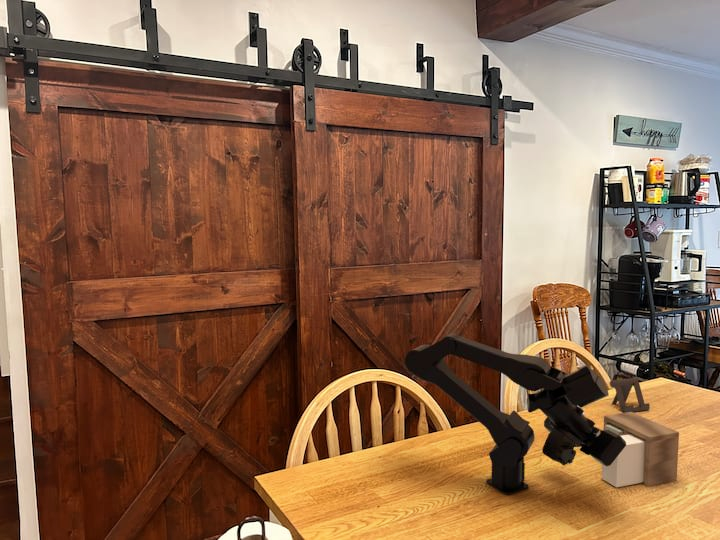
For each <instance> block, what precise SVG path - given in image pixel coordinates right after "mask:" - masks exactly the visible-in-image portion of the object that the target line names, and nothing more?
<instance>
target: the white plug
mask: <svg viewBox="0 0 720 540" xmlns="http://www.w3.org/2000/svg"><path fill="white" fill-rule="evenodd" d="M621 437H622V438H623V439H624V440H625V442H626V446H625V447H624V449H623V450H622V451H621V452H620V454H619V455H618V456H617V458H616V459H615V460H614V461H613V463H612V464H611V465H610V466H605V465H603V464H601V479H602V480H603V481H605V482H607V483H609V484H610V485H611V486H613V487H615V488H620V487H621V488H622V487H625V486H630V485H636V484H641V483H644V472H645V449H646V440H645V439H643V438H641V437H639V436H637V435H634V434H629V435H622V436H621Z"/></svg>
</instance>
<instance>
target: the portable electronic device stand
mask: <svg viewBox="0 0 720 540" xmlns="http://www.w3.org/2000/svg"><path fill="white" fill-rule="evenodd" d="M609 385H610V387H611V388H612V389H613V388H614V389H615V392H616V393H615V395H614V398H613V400H612V402H611V404H612V405H617V403H618V404H619V409H620V412H621V413H626V412H633V413H635V412H642V411H643V412H645V411H649V410H650V403H645V401H644V396H643V393H642V389H641V385H640V382H639V379H638V378H637V377H632V378H622V379H621V378H620V379H612V380H610V381H609ZM632 388H633V389H634V391H635V395H636V399H637V403H638V406H636V407H635V406H634V405H633V404H632V405H626V403H627V400H628V399H629V395H630V394H631V391H632Z"/></svg>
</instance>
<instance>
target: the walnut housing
mask: <svg viewBox="0 0 720 540" xmlns="http://www.w3.org/2000/svg"><path fill="white" fill-rule="evenodd" d="M603 430H610V431H612V432H614V433H615V434H617V435H619V436H622V435H629V434H634V435H637V436H639V437H641V438H643V439H645V440H646V449H645V472H644V482H643V485H644V486H645V487H653V486H657V485H663V484H669V483H673V482H676V481H678V463H679V462H678V461H679V445H680V442H679V441H680V439H679V438H680V432H679V431H677V430H674V429H672V428H670V427H667V426H665V425H663V424H661V423H658V422H656V421H653V420H651V419H648V417H647V418H646V417H644V416H642V415H639V414H638V413H635V412H626V413H622V412H621V413H613V414H605V415H604V416H603Z"/></svg>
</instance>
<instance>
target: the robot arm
mask: <svg viewBox="0 0 720 540" xmlns="http://www.w3.org/2000/svg"><path fill="white" fill-rule="evenodd" d="M449 355H453V356H455V357H457V358H460V359H463V360H465V361H469V362H471V363H475V364H477V365H479V366H482V367H484V368H488V369H490V370H492V371H496V372H498V373H500V374H503V375H504V376H505V377H507V378H508V379H509V380H511V381H512V383H514V384H516V385H518V386H519V387H521V388H523V389H525V390H527V391H530V392H535V393H528V394H527V398H526V405H527V412H528V413H533V412H535V411H537V410H540V411H541V412H542V413H543V414H544V415H545V416H546V418H545V419H544V420H543V427H544V428H545V429H546V430H547V431H548V432H549V433H548V435H547V437H546V439H545V441H544V443H543V447H542V450H541V451H542V454H543V455H545V456H546V457H548V458H549V459H551V460H552V461H554V462H557V463H559V464H560V465H562V466H566V465H568V464H569V465H571V464H572V463H573V462H574V460H575V458H576V455H577V451H576V450H575V448H579V451H580V452H582V453H584V454H585V455H587V456H591V457H592V458H593V459H594V460H595V461H597V462H598V463H600V464H601V465H602V464H603V465H605V466H610V465H611V464H612V463H613V461H614V460H615V459H616V458H617V456H618V455H619V454H620V452H621V451H622V450H623V449H624V447H625V446H626V442H625V440H624V439H623V438H622V437H621V436H619V435H617V434H615V433H614V432H612V431H610V430H604V429H603V430H602V429H600V428H598V427H596V426H595V425H596V422H595V421H593V420H592V419H589V418H588V417H586V415H585V416H584V415H583V414H582V413H583V412H584V413H585V411H584V409H583V407H586V406H588V405H590V404H593V403H595V402H597V401H600V400H601V399H604V398H607V397H609V394H610V393H609V390H608V388H607V385H606V383H605V382H604V380H603V378H602V377H601V376H600V375H599V374H598V373H597V372H596V371H595V370H594V369H592V367H591V366H590V364H587V363H586V364H584V365H582V366H581V367H580V368H579V369H577V370H575V371H573V372H571V373H568V372H565V371H563V370H560V369H559V368H557V367H554V366H552V365H550V363H549V361H548V360H546V358H543V357H541V356H537V355H536V356H535V355H530V354H524V353H523V354H519V353H510V352H508V351H507V352H506V351H504V350H501V349H498V348H495V347H493V346H489V345H486V344H483V343H481V342H478V341H475V340H471V339H469V338H466V337H463V336H461V335H459V334H458V333H450V334H447V335H446V336H444V337H443V338H442V339H440V340H439V341H437V342H435V343H433V344H421V345H419V346H417V347H415V348H413V349H412V350H410V351H408V352H407V353H406V356H405V357H404V363H405V368H406V370H407V371H408V372H409V373H410V374H412V375H413V376H415V377H417V378H418V379H420V380H421V381H423V382H427V383H429V384H432V385H435V386H436V387H438V388H439V389H440V390H441V391H442V392H444V393H445V394H446V395H447V396H448V397H449V398H450V399H452V400H453V401H454V402H455V403H456V404H458V405H459V407H461V408H462V409H463V410H465V411H466V412H467V413H468V414H469V415H470V416H472V417H473V418H474V419H476V421H477V422H479V423H480V424H481V425H482V426H484V427H485V428H486V430H487V431H488V433H489V435H490V437H491V438H492V440H493V442H494V443H495V445H494V446H493V447H492V449H491V450H490V452H489V453H488V456H489V458H490V462H491V477H490V478H487V479H485V480H486V481H485V482H486V483H487V484H488V485H490V486H492V487H493V488H495V489H496V490H497V491H499V492H500V493H502V494H504V495H506V496H509V495H512V494H515V493H518V492H521V491H524V490H527V489H529V488H530V487H529V486H530V485H529V484H528V483H526V482H525V473H526V472H525V471H526V469H525V468H526V467H525V466H526V464H525V457H526V456H527V454H528V452H529V451H530V449H531V447H532V446H533V444H534V442H535V438H536V437H535V433H534V430H533V428H532V426H530V425H529V424H530V421H528V420H526V419H524V418H523V417H522V416H521V415H520V414H519V413H518V412H517V411H516V410H512V411H511V413H509V414H508V413H506V412H503V411H501V410H500V409H498V408H497V407H496V406H495V405H493V404H492V403H491V402H489V400H487V399H486V398H484V396H482V395H481V394H480V393H479V392H477V390H475V389H474V388H473V387H471V386H470V385H469V384H468V383H467V382H466V381H465V380H463V379H462V378H461V377H459V376H458V375H457V374H456V373H455V372H453V370H451V369H450V367H449V366H448V364H447V362H446V360H445V357H447V356H449ZM577 406H579V407H582V409H581V408H579V407H577Z"/></svg>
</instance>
